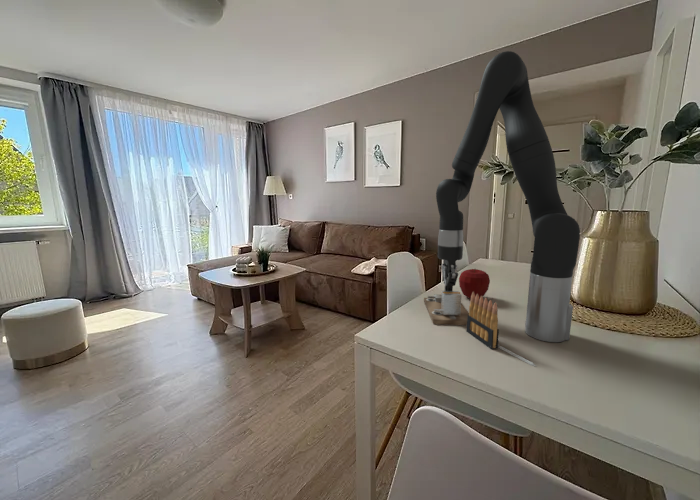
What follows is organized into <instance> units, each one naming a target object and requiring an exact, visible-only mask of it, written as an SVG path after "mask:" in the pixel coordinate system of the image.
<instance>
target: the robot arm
mask: <svg viewBox="0 0 700 500" xmlns="http://www.w3.org/2000/svg"><path fill="white" fill-rule="evenodd" d="M532 98H533V97H532V93H531V88H530V81H529V75H528V69H527V65H526V64H525V62H524V61H523V59H522V57H520V55H519V54H517V53H516V52H515V51H511V50H510V51H509V50H505V51H502V52H500V53H498V54H496V55H494V56H493V58H491V59H490V61H488V63H487V65H486V67H485V69H484V72H483V74H482V78H481V82H480V86H479V89H478V93H477V97H476V100H475V102H474V106H473V109H472V113H471V116H470V119H469V121H468V124H467V126H466V129H465V131H464V134H463V136H462V139H461V141H460V144H459V146H458V148H457V150H456V152H455V155H454V157H453V158H452V159H453V160H452V163H451V167H452V168H451V169H453V170H454V171H453V175H452V178H445V179H442V181H440V182H439V184H438V185H437V186H436V187H437V188H436V193H435V199H436V205H437V210H438V213H439V226H438V227H439V229H438V237H437V258H438V259H439V260H442V261H443V263H441V265H440V266H441V267H440V268H441V273H442V274H441V275H442V282H443V284H444V291H454V290H453V287H455V286H456V283H457V280H458V279H459V278H458V277H459V272H457V271H458V265H457V261H460V260H462V259H463V251H464V230H463V229H464V214H463V212H462V211H460V210H459V203H460V202H463V201H464V200H465V199H466V198H467V197H468V195H469V193H470V191H471V188H472V187H473V182H474V177H475V173H476V169H477V167H478V165H479V163H480V161H481V159H482V157H483V155H484V153H485V151H486V148H487V146H488V143H489V139H490V136H491V132H492V128H493V125H494V121H495V119H496V117H497V114H498V111H500V114H501V115H502V118H503V124H504V135H505V144H506V149H507V154H508V158H509V161H510V164H511V167H512V170H513V173H514V175H515V178H516V180H517V182H518V184H519V185H518V186H520V189H521V191H522V193H523V195H524V197H525V199H526V202H527V206H528V211H529V215H530V221H531V228H532V233H533V238H534V241H533V250H532V251H533V252H532V259H531V262H530V269H529V270H530V271H529V283H528V295H527V305H526V306H527V307H526V315H525V317H526V318H525V327H524V332H525V333H526V335H528V336H529V337H531V338H534V339H536V340H539V341H543V342H547V343H548V342H549V343H561V342H564V341H570V336H571V327H572V319H573V318H572V317H573V311H574V306H573V305H572V303H570V302H571V291H572V284H573V283H572V281H573V275H574V270H575V267H576V265H577V261H578V254H579V253H578V252H579V246H580V240H581V239H580V237H581V229H580V225H579V223H578V221H577V220H576V219H575V218H574V217H572V216H570V215H569V214H568V212H567V211H566V208H565V206H564V204H563V201H562V199H561V196H560V193H559V189H558V180H557V178H558V177H557V168H556V161H555V156H554V151H553V149H552V146H551V145H552V144H551V142H550V139H549V137H548V134H547V132H546V128H545V126H544V125H543V122H542V120H541V118H540V117H539V114H538V112H537V110H536V108H535V104H534V102H533V99H532Z"/></svg>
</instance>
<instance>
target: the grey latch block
mask: <svg viewBox="0 0 700 500" xmlns="http://www.w3.org/2000/svg"><path fill="white" fill-rule="evenodd" d="M441 295H442V299H441V309H434V312H442V313H443V315H460V314H461V304H462V293H461V292H460V291H459V290H453V291H445V290H441Z"/></svg>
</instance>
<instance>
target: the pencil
mask: <svg viewBox="0 0 700 500" xmlns="http://www.w3.org/2000/svg"><path fill="white" fill-rule="evenodd" d="M497 349H499V350H502V351H504V352H506V353H508V354H510V355H511V356H512V357H514V358H516V359H519V360H520V361H522V362H524V363H527V364H528V365H529V366H531V367H536V364H535V363H534V362H533V361H530V360H528V359H526V358H524V357H523V356H521V355H519V354H517V353H514V352H513V351H512V350H510V349H508V348H506V347H504V346H501V345H500V344H498V348H497Z"/></svg>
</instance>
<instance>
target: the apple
mask: <svg viewBox="0 0 700 500" xmlns="http://www.w3.org/2000/svg"><path fill="white" fill-rule="evenodd" d="M459 275H460V276H458V277H459V278H458V284H459V288H460V291H461V292H462V293H461V294H462V295H463V296H464V297H465V298H467V299H470V300H471V295H472V292H474V294H475V297H476V295H477V294H478V295H479V300H480V297H481V296H483V297H484V296H485V295H486V293H487V292H488V291H489V287H490V283H491V279H490V275H489V274H488V273H487V272H486V271H484V270H481V269H476V268H471V269H466V270H464V271H462V272H461V273H460V274H459Z"/></svg>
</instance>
